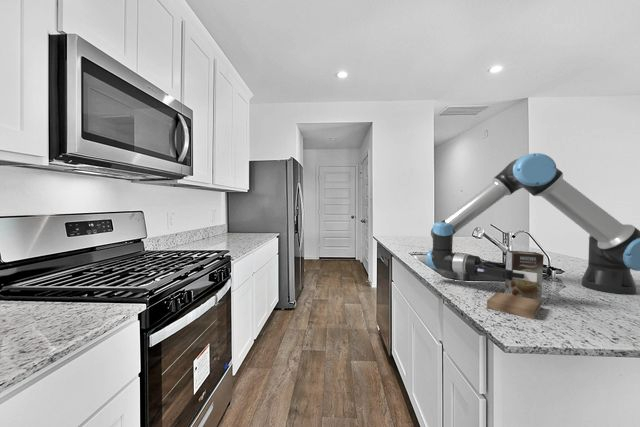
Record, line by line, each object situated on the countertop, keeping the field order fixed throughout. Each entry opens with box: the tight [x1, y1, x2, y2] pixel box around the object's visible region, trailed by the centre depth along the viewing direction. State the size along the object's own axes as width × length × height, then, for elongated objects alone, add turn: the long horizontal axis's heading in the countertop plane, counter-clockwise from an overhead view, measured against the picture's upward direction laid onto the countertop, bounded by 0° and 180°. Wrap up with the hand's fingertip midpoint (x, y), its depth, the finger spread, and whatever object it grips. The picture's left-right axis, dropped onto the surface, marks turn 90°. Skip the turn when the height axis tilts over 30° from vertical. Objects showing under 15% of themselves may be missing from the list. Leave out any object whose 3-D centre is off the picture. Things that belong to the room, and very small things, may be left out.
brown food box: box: [504, 250, 545, 301], centre depth 100 cm, size 9×6×16 cm
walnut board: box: [486, 291, 542, 320], centre depth 91 cm, size 12×12×2 cm
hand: (539, 275), depth 97 cm, fingers closed on brown food box, 9 cm apart
